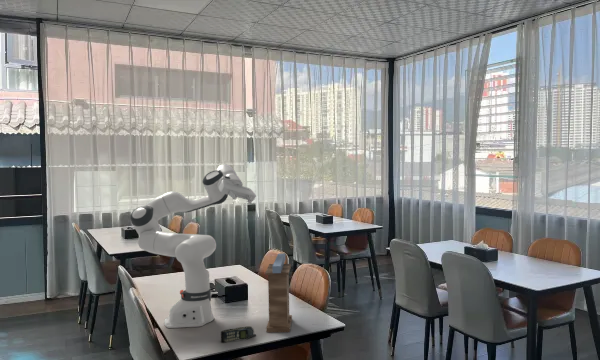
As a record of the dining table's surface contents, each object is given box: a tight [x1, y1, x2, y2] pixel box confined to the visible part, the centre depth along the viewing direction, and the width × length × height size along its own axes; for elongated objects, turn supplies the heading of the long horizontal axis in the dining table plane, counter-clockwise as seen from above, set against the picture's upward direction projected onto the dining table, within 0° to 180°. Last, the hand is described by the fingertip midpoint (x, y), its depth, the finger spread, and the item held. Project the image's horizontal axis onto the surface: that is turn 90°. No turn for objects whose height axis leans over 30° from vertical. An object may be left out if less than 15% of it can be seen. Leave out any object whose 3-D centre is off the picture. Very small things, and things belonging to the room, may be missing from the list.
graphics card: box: [209, 280, 218, 299], centre depth 259 cm, size 10×3×25 cm
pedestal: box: [264, 263, 293, 333], centre depth 203 cm, size 16×10×26 cm, turn 177°
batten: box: [272, 253, 286, 273], centre depth 206 cm, size 26×4×3 cm, turn 177°
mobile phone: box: [220, 326, 257, 344], centre depth 188 cm, size 5×3×15 cm
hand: (242, 200), depth 226 cm, fingers open, 8 cm apart
